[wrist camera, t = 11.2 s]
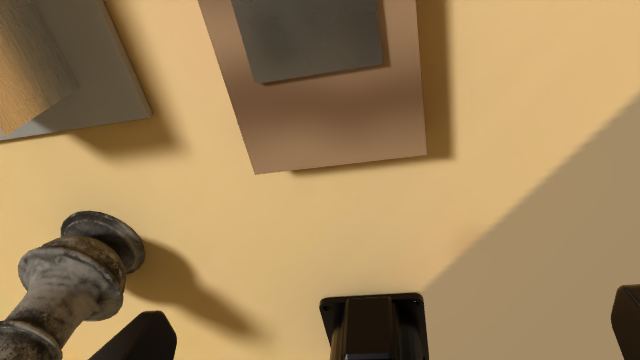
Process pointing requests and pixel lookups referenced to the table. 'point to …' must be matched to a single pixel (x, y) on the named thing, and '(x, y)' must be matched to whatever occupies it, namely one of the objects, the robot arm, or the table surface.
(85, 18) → the rubber mat
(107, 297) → the weathered candle holder
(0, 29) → the lever cap
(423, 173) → the table surface
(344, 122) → the body
